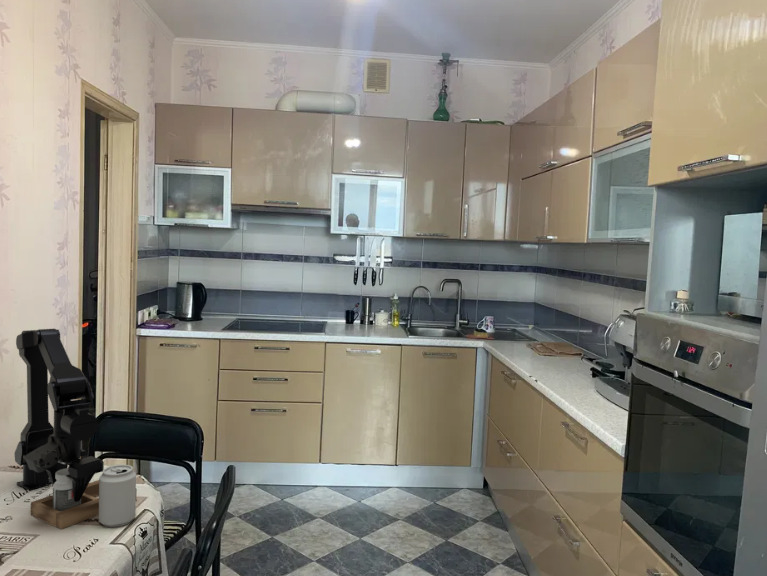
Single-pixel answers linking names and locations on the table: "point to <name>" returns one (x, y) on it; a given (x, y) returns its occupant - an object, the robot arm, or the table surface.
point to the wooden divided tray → (70, 516)
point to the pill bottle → (63, 492)
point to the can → (117, 495)
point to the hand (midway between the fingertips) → (67, 497)
